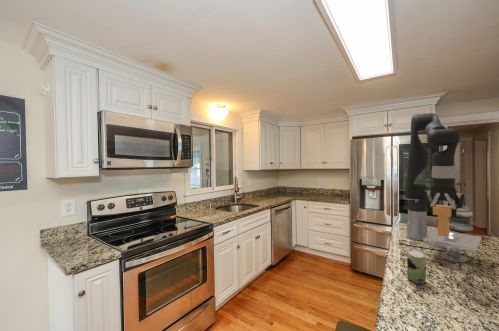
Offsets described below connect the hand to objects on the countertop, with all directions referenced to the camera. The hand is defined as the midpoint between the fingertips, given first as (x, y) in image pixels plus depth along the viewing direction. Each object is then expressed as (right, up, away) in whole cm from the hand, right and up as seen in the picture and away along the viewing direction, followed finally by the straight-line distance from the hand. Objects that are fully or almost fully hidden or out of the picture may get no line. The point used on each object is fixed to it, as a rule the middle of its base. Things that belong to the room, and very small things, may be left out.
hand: (443, 216), depth 95 cm
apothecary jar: (+47, -22, +43) cm, 67 cm away
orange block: (0, -8, 0) cm, 8 cm away
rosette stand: (+15, -24, +12) cm, 31 cm away
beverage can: (-14, -26, -4) cm, 30 cm away
